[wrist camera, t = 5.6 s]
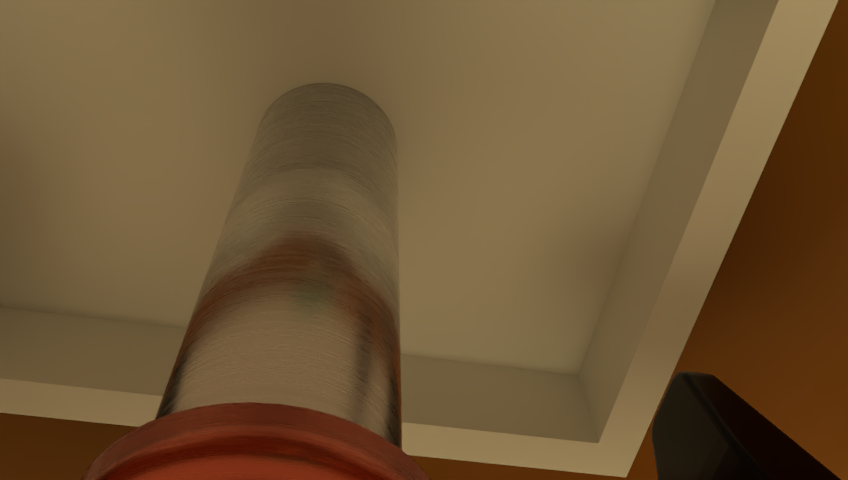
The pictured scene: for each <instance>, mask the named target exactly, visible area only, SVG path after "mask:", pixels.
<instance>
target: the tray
mask: <svg viewBox="0 0 848 480" xmlns="http://www.w3.org/2000/svg"><path fill="white" fill-rule="evenodd" d="M837 2H838V0H0V413H9V414H19V415H29V416H38V417H48V418H58V419H67V420H77V421H87V422H96V423H106V424H116V425H125V426H135V427H140V426H142V425H144V424H145V423H147V422H150V421H152V420H155V417H156V415H157V412H158V409H159V406H160V403H161V400H162V398H163V395H164V392H165V389H166V386H167V384H168V381H169V378H170V375H171V372H172V369H173V367H174V364H175V361H176V358H177V355H178V352H179V350H180V347H181V344H182V341H183V338H184V336H185V333H186V330H187V327H188V324H189V321H190V319H191V316H192V313H193V310H194V307H195V305H196V302H197V299H198V296H199V293H200V290H201V288H202V285H203V282H204V279H205V276H206V274H207V271H208V268H209V265H210V262H211V259H212V257H213V254H214V251H215V248H216V245H217V243H218V240H219V237H220V234H221V231H222V228H223V226H224V223H225V220H226V217H227V214H228V211H229V209H230V206H231V203H232V200H233V197H234V195H235V192H236V189H237V186H238V183H239V180H240V178H241V175H242V172H243V169H244V166H245V164H246V161H247V158H248V155H249V152H250V149H251V147H252V144H253V141H254V138H255V135H256V133H257V130H258V127H259V124H260V122H261V120H262V117H263V115H264V114H265V112H266V111H267V109H268V108H269V107H270V106H271V105H272V103H273V102H274V101H275V100H277V99H278V98H279V97H280V96H282V95H283V94H285V93H286V92H288V91H290V90H292V89H294V88H297V87H299V86H303V85H306V84H312V83H336V84H340V85H345V86H348V87H351V88H353V89H356V90H358V91H360V92H362V93H363V94H365V95H366V96H368V97H369V98H371V99H372V100H373V101H374V102H375V103H377V104H378V105H379V106H380V108H381V109H382V110H383V111H384V112H385V114H386V115H387V117H388V118H389V120H390V122H391V124H392V126H393V129H394V132H395V135H396V140H397V159H398V223H399V287H400V351H401V415H402V451H403V452H405V453H406V454H407V455H415V456H424V457H434V458H444V459H453V460H463V461H472V462H482V463H492V464H501V465H511V466H521V467H530V468H540V469H550V470H559V471H569V472H579V473H588V474H598V475H608V476H617V477H627V474H628V472H629V470H630V468H631V465H632V463H633V461H634V459H635V456H636V454H637V452H638V450H639V447H640V445H641V443H642V441H643V438H644V436H645V434H646V432H647V429H648V427H649V425H650V423H651V421H652V418H653V416H654V414H655V412H656V409H657V407H658V405H659V403H660V400H661V398H662V396H663V394H664V391H665V389H666V387H667V385H668V382H669V380H670V378H671V376H672V373H673V371H674V369H675V367H676V364H677V362H678V360H679V358H680V355H681V353H682V351H683V349H684V346H685V344H686V342H687V340H688V337H689V335H690V333H691V331H692V328H693V326H694V324H695V322H696V319H697V317H698V315H699V313H700V310H701V308H702V306H703V304H704V301H705V299H706V297H707V295H708V292H709V290H710V288H711V286H712V283H713V281H714V279H715V277H716V274H717V272H718V270H719V268H720V265H721V263H722V261H723V259H724V256H725V254H726V252H727V250H728V247H729V245H730V243H731V241H732V238H733V236H734V234H735V232H736V229H737V227H738V225H739V223H740V220H741V218H742V216H743V214H744V211H745V209H746V207H747V205H748V202H749V200H750V198H751V196H752V193H753V191H754V189H755V187H756V184H757V182H758V180H759V178H760V175H761V173H762V171H763V169H764V166H765V164H766V162H767V160H768V157H769V155H770V153H771V151H772V148H773V146H774V144H775V142H776V139H777V137H778V135H779V133H780V130H781V128H782V126H783V124H784V121H785V119H786V117H787V115H788V112H789V110H790V108H791V106H792V103H793V101H794V99H795V97H796V94H797V92H798V90H799V88H800V85H801V83H802V81H803V79H804V76H805V74H806V72H807V70H808V67H809V65H810V63H811V61H812V58H813V56H814V54H815V52H816V49H817V47H818V45H819V43H820V40H821V38H822V36H823V34H824V31H825V29H826V27H827V25H828V22H829V20H830V18H831V16H832V13H833V11H834V9H835V7H836V4H837Z"/></svg>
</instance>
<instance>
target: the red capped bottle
mask: <svg viewBox="0 0 848 480" xmlns="http://www.w3.org/2000/svg"><path fill="white" fill-rule="evenodd" d="M81 480H431V479H430V478H429V477H428V476H427V474H426V473H425V472H424V471H423V470H422V469H421V467H420V466H419V465H418V464H417V463H416V462H415V461H414V460H413V459H411V458H410V457H409V456H408V455H407V454H406V453H405V452H403V451H402V415H401V351H400V287H399V223H398V159H397V140H396V135H395V132H394V129H393V126H392V124H391V122H390V120H389V118H388V117H387V115H386V114H385V112H384V111H383V110H382V109H381V108H380V106H379V105H378V104H377V103H375V102H374V101H373V100H372V99H371V98H369V97H368V96H366V95H365V94H363V93H362V92H360V91H358V90H356V89H353V88H351V87H348V86H345V85H340V84H336V83H312V84H306V85H303V86H299V87H297V88H294V89H292V90H290V91H288V92H286V93H285V94H283V95H282V96H280V97H279V98H278V99H277V100H275V101H274V102H273V103H272V105H271V106H270V107H269V108H268V109H267V111H266V112H265V114H264V115H263V117H262V120H261V122H260V124H259V127H258V130H257V133H256V135H255V138H254V141H253V144H252V147H251V149H250V152H249V155H248V158H247V161H246V164H245V166H244V169H243V172H242V175H241V178H240V180H239V183H238V186H237V189H236V192H235V195H234V197H233V200H232V203H231V206H230V209H229V211H228V214H227V217H226V220H225V223H224V226H223V228H222V231H221V234H220V237H219V240H218V243H217V245H216V248H215V251H214V254H213V257H212V259H211V262H210V265H209V268H208V271H207V274H206V276H205V279H204V282H203V285H202V288H201V290H200V293H199V296H198V299H197V302H196V305H195V307H194V310H193V313H192V316H191V319H190V321H189V324H188V327H187V330H186V333H185V336H184V338H183V341H182V344H181V347H180V350H179V352H178V355H177V358H176V361H175V364H174V367H173V369H172V372H171V375H170V378H169V381H168V384H167V386H166V389H165V392H164V395H163V398H162V400H161V403H160V406H159V409H158V412H157V415H156V417H155V420H152V421H150V422H147V423H145V424H144V425H142V426H140V427H138V428H136V429H134V430H132V431H130V432H128V433H126V434H125V435H124V436H122V437H121V438H119V439H118V440H116V441H115V442H114V443H112V444H111V445H109V446H108V447H107V448H106V449H105V450H104V451H103V452H102V453H101V454H100V455H99V456H98V457H97V458H96V459H95V460H94V461H93V462H92V464H91V465H90V467H89V468H88V469H87V471H86V472H85V473H84V475H83V476H82V478H81Z"/></svg>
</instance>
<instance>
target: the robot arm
mask: <svg viewBox="0 0 848 480" xmlns="http://www.w3.org/2000/svg"><path fill="white" fill-rule="evenodd" d="M652 442H653V449H654V455H655V461H656V468H657V474H658V480H841V479H840V478H838V477H837V476H836V475H835V474H833V473H832V472H831V471H830V470H829V469H827V468H826V467H825V466H824V465H822V464H821V463H820V462H819V461H818V460H816V459H815V458H814V457H813V456H811V455H810V454H809V453H808V452H807V451H805V450H804V449H803V448H802V447H800V446H799V445H798V444H797V443H796V442H794V441H793V440H792V439H791V438H789V437H788V436H787V435H786V434H785V433H783V432H782V431H781V430H780V429H778V428H777V427H776V426H775V425H774V424H772V423H771V422H770V421H769V420H767V419H766V418H765V417H764V416H763V415H761V414H760V413H759V412H758V411H756V410H755V409H754V408H753V407H752V406H750V405H749V404H748V403H747V402H745V401H744V400H743V399H742V398H741V397H739V396H738V395H737V394H736V393H735V392H733V391H732V390H731V389H730V388H728V387H727V386H726V385H725V384H724V383H722V382H721V381H720V380H719V379H717V378H716V377H715V376H713V375H710V374H705V373H697V372H689V371H682V372H679V373H677V374H676V375H675V376H674V377H673V379H672V381H671V383H670V385H669V387H668V390H667V392H666V394H665V396H664V399H663V401H662V403H661V405H660V408H659V410H658V412H657V414H656V417H655V419H654V422H653V427H652Z"/></svg>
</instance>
